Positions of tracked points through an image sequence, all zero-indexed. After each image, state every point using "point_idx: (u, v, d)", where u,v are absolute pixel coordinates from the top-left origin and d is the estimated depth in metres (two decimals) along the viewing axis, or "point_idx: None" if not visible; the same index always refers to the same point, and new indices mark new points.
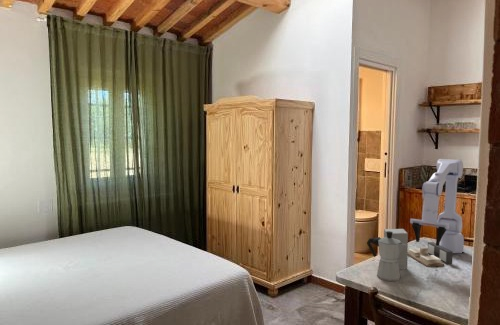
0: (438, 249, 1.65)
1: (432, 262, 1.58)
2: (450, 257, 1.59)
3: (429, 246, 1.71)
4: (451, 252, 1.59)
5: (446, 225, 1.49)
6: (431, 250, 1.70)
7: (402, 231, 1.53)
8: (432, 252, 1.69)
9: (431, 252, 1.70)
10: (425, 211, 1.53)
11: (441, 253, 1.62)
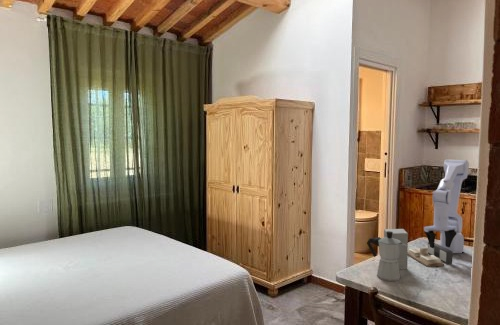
0: (438, 249, 1.65)
1: (432, 262, 1.58)
2: (450, 257, 1.59)
3: (429, 246, 1.71)
4: (451, 252, 1.59)
5: (456, 228, 1.65)
6: (431, 250, 1.70)
7: (402, 231, 1.53)
8: (432, 252, 1.69)
9: (431, 252, 1.70)
10: (442, 219, 1.62)
11: (441, 253, 1.62)
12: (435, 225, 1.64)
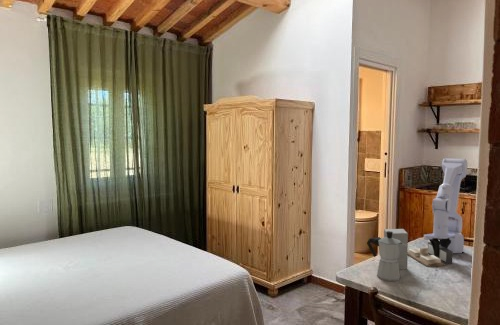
0: None
1: (432, 262, 1.58)
2: (450, 257, 1.59)
3: (429, 246, 1.71)
4: (451, 252, 1.59)
5: (455, 236, 1.65)
6: (431, 250, 1.70)
7: (402, 231, 1.53)
8: (432, 252, 1.69)
9: (431, 252, 1.70)
10: (442, 227, 1.62)
11: (441, 253, 1.62)
12: (435, 233, 1.64)
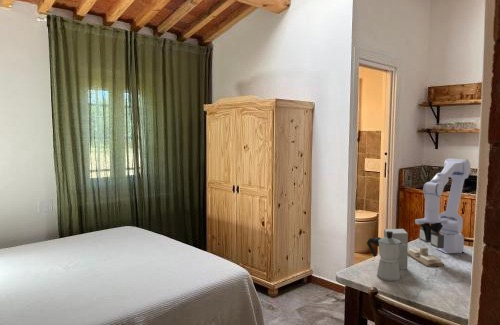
0: None
1: (432, 262, 1.58)
2: (441, 241, 1.58)
3: (421, 231, 1.70)
4: (442, 236, 1.58)
5: (447, 220, 1.64)
6: (423, 235, 1.68)
7: (402, 231, 1.53)
8: (424, 237, 1.68)
9: (423, 237, 1.68)
10: (433, 211, 1.61)
11: (432, 237, 1.61)
12: (426, 217, 1.63)
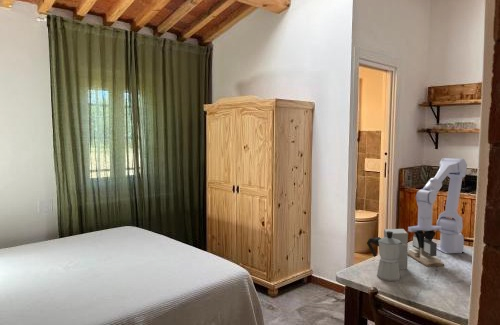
0: None
1: (432, 262, 1.58)
2: (434, 249, 1.58)
3: (414, 239, 1.70)
4: (435, 244, 1.58)
5: (440, 228, 1.64)
6: (416, 242, 1.68)
7: (402, 231, 1.53)
8: (417, 244, 1.68)
9: (416, 244, 1.68)
10: (426, 219, 1.61)
11: (425, 245, 1.61)
12: (419, 225, 1.63)
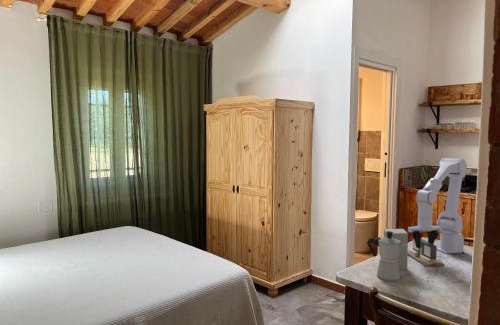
0: (423, 244, 1.64)
1: (432, 262, 1.58)
2: (434, 252, 1.58)
3: (414, 241, 1.70)
4: (435, 247, 1.58)
5: (440, 228, 1.64)
6: None
7: (402, 231, 1.53)
8: None
9: (416, 247, 1.68)
10: (426, 219, 1.61)
11: (425, 248, 1.61)
12: (419, 225, 1.63)
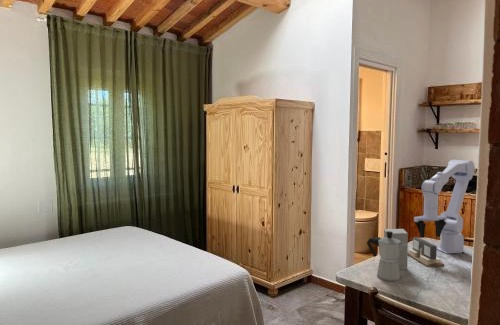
0: (422, 244, 1.64)
1: (432, 262, 1.58)
2: (434, 252, 1.58)
3: (414, 241, 1.70)
4: (435, 247, 1.58)
5: (445, 217, 1.67)
6: (416, 245, 1.68)
7: (402, 231, 1.53)
8: (417, 247, 1.68)
9: (416, 247, 1.68)
10: (431, 209, 1.64)
11: (425, 248, 1.61)
12: (425, 215, 1.66)
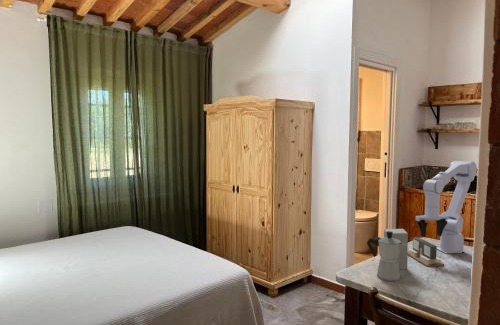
0: (422, 244, 1.64)
1: (432, 262, 1.58)
2: (434, 252, 1.58)
3: (414, 241, 1.70)
4: (435, 247, 1.58)
5: (447, 217, 1.68)
6: (416, 245, 1.68)
7: (402, 231, 1.53)
8: (417, 247, 1.68)
9: (416, 247, 1.68)
10: (433, 208, 1.65)
11: (425, 248, 1.61)
12: (426, 214, 1.67)
